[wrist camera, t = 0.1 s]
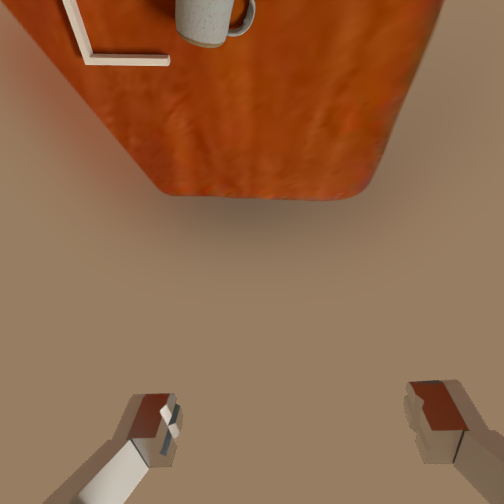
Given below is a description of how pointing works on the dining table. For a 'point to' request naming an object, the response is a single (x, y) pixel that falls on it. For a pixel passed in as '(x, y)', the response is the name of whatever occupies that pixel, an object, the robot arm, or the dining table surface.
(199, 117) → the dining table surface
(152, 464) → the robot arm
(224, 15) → the ceramic mug
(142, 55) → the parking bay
